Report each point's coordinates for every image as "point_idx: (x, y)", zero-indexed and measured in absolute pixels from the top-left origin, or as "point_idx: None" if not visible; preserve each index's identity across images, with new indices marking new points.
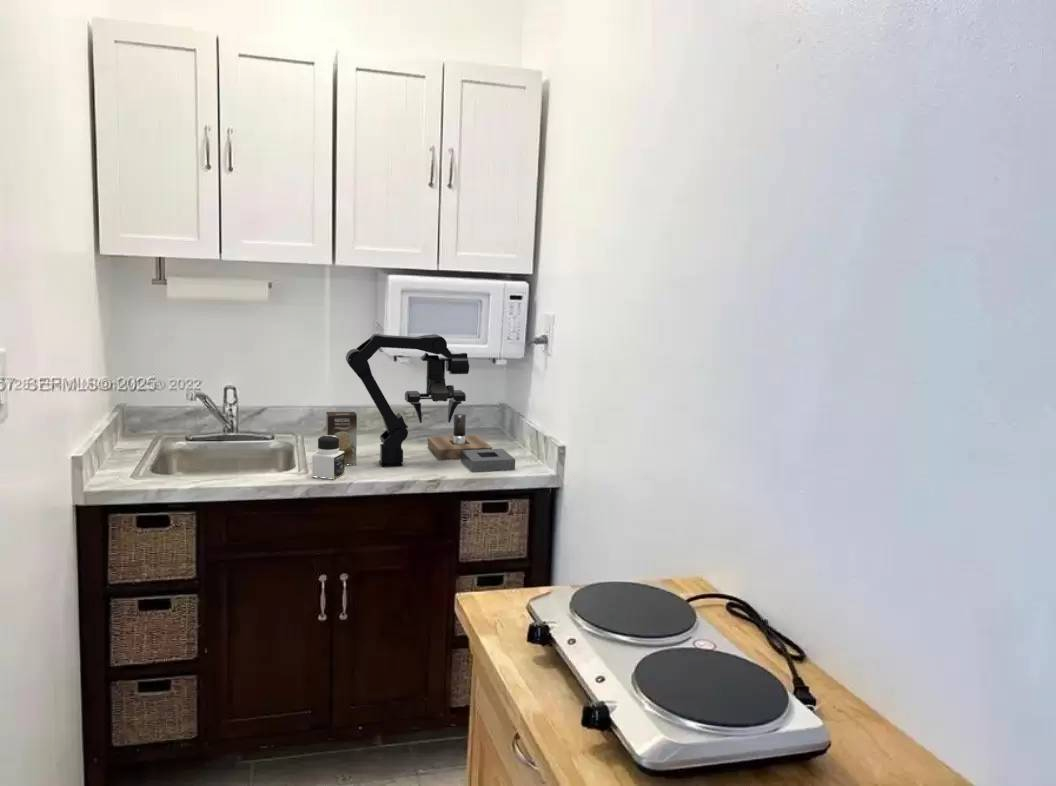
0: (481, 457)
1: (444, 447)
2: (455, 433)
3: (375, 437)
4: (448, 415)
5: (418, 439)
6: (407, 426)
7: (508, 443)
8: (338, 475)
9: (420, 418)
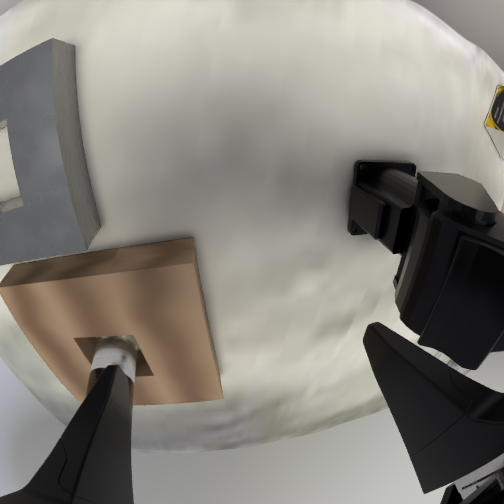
0: (6, 117)
1: (165, 298)
2: None
3: (321, 407)
4: (120, 428)
5: (236, 413)
6: (469, 239)
7: (27, 379)
8: (497, 99)
9: (403, 346)
